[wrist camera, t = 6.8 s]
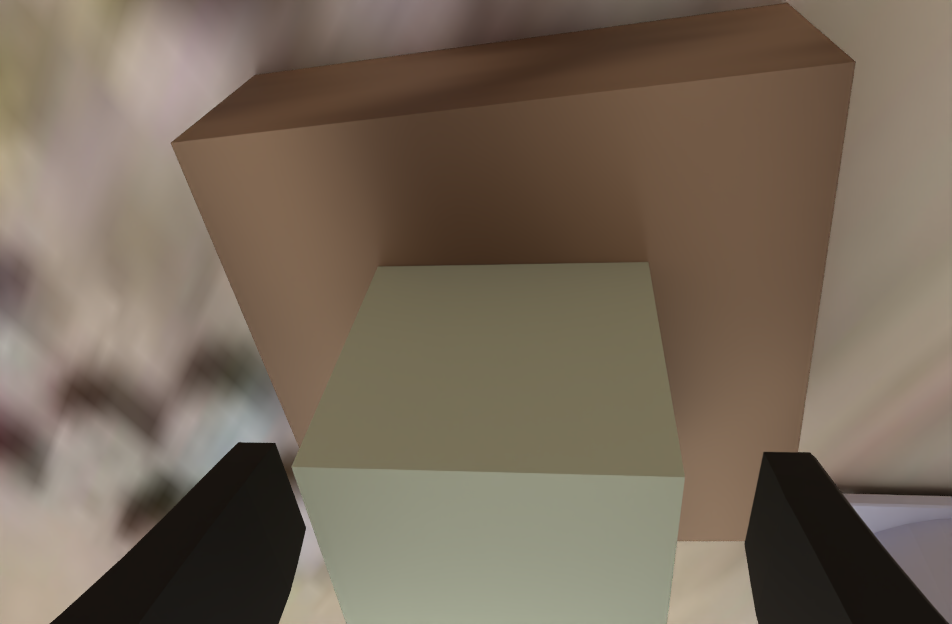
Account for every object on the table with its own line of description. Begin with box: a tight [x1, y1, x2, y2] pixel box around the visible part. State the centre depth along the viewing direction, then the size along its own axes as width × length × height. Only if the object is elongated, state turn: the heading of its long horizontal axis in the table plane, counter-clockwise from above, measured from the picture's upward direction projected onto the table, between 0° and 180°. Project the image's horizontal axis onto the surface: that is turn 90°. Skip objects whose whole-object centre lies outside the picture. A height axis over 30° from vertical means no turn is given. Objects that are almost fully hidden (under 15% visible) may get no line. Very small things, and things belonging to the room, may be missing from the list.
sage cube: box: [292, 262, 685, 624], centre depth 11 cm, size 4×4×4 cm
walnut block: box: [171, 3, 855, 541], centre depth 14 cm, size 10×10×4 cm
